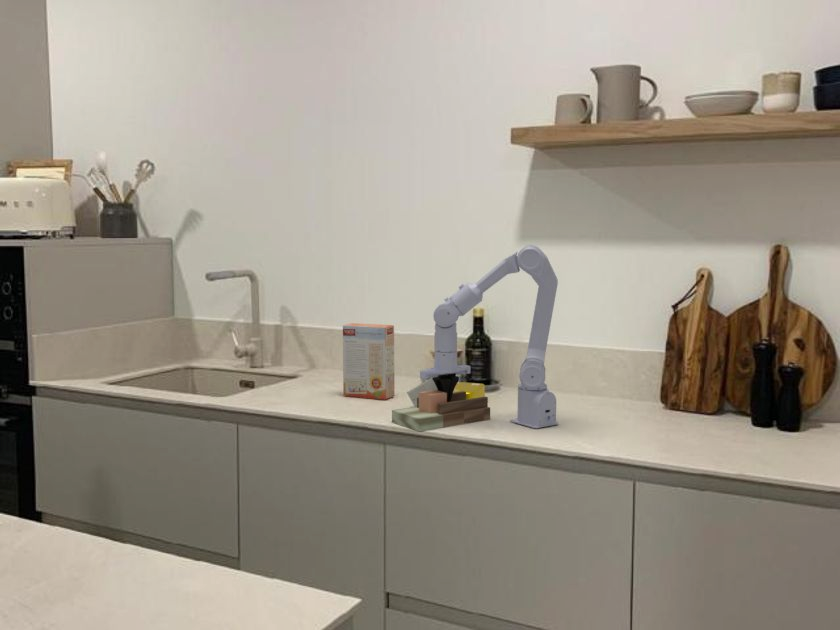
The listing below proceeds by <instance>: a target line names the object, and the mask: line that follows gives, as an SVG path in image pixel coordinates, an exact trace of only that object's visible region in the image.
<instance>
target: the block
mask: <svg viewBox="0 0 840 630" xmlns="http://www.w3.org/2000/svg"><path fill="white" fill-rule="evenodd" d="M446 402H447V393H445V392H441V391H438V390H430V391H423V392H419V410H421V411H425V412H428V413H436V412H438V404H439V403H446Z"/></svg>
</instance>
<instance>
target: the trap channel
mask: <svg viewBox="0 0 840 630" xmlns="http://www.w3.org/2000/svg"><path fill="white" fill-rule="evenodd" d="M488 404H489V396H485V397H479V398H472V399H466V392H465V391H460V392H453V394H452V397H451V401H450V402H446V403H439V404H438V412H436V413H428V412H425V411H421V410H419V398H417V406H416V407H415V406H410V407H404V408H403V407H402V408H397V409H391V423H394V424H397V425H399V426H402V427H406V428H408V429H412V430H415V431H417V432H424V431H430V430H436V429H442V428H448V427H454V426H460V425H465V423H466V424H472V423H475V422H476V423H477V422H482V421H487V420H491V407H489V405H488ZM471 422H472V423H471Z"/></svg>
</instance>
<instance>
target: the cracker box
mask: <svg viewBox="0 0 840 630" xmlns="http://www.w3.org/2000/svg"><path fill="white" fill-rule="evenodd" d="M342 365H343V366H342V369H343V370H342V372H343V373H342V374H343V375H342V376H343V379H342V380H343V386H342V387H343V388H342V389H343V396H344V397H350V398H363V399H373V400H381V401H382V400H383V401H386V400H388V399H391V398H394V397H395V325H392V324H391V325H389V324H377V323H376V324H375V323H374V324H371V323H346V324H344V325H342Z"/></svg>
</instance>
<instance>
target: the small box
mask: <svg viewBox="0 0 840 630" xmlns="http://www.w3.org/2000/svg"><path fill="white" fill-rule="evenodd" d="M454 389H455V388H454ZM430 390H438V389H437V387H436V385H435V383H434V381H433V379H432V378H428V379H426V380H425V381H424V382H422V383H420V384H418V385H417V386H415V387H413V388H411V389H409V390H407V392H406V393H407V395H408V398H409V399H410V400H411V401H410V402H411V403H412V405H413V407H416V406H417V398H419V392H423V391H430Z"/></svg>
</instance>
